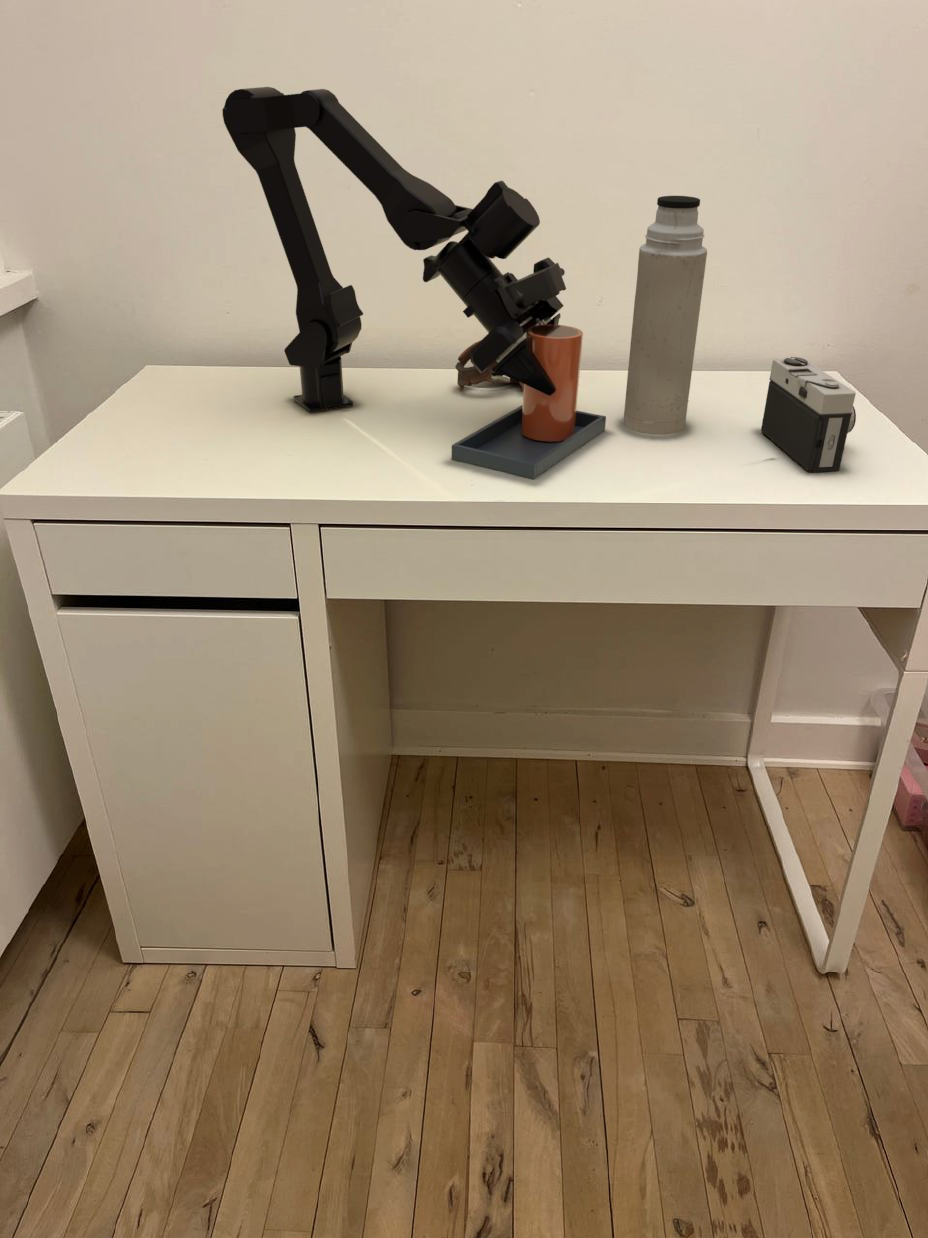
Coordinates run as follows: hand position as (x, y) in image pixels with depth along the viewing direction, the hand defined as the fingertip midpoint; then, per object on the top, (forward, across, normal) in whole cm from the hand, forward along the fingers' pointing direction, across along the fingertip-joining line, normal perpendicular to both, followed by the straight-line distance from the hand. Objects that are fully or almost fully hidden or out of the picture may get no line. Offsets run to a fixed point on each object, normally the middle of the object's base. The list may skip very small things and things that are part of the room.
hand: (562, 384), depth 121 cm
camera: (+26, +9, -16) cm, 32 cm away
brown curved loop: (-6, +16, +16) cm, 23 cm away
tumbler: (+3, 0, +6) cm, 7 cm away
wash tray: (+3, -4, +6) cm, 9 cm away
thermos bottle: (+12, +9, -2) cm, 15 cm away
